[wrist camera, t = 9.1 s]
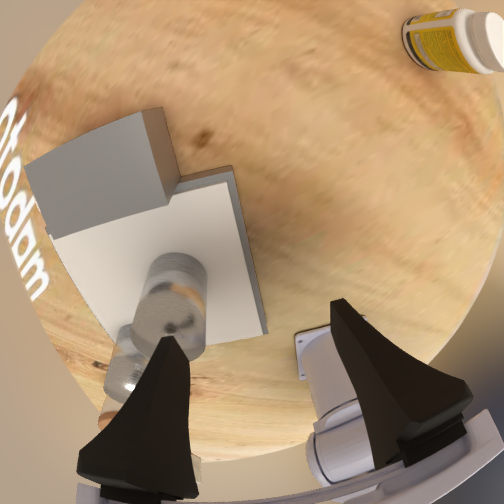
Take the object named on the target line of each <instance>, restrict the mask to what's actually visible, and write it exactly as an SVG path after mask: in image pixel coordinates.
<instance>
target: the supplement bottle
mask: <svg viewBox="0 0 504 504" xmlns="http://www.w3.org/2000/svg"><path fill="white" fill-rule="evenodd" d="M403 41H404V44H405V47H406V49H407V51H408V53H409V54H410V56H411V57H412V58H413V60H414V61H415V62H416V63H418V64H419V65H420V66H422V67H424V68H426V69H429V70H435V71H455V72H466V73H475V74H483V75H487V74H491V73H492V72H494V71H497V72H504V20H503V19H502V18H501V17H500V16H499V15H497V14H495V13H493V12H477V13H476V12H474V11H472V10H469V9H462V8H461V9H454V10H447V11H441V12H435V13H430V14H425V15H420V16H416V17H412V18H410V19H408V20H407V21H406V22H405V24H404V26H403Z"/></svg>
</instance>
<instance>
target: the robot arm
mask: <svg viewBox="0 0 504 504" xmlns="http://www.w3.org/2000/svg"><path fill="white" fill-rule="evenodd" d="M295 345H296V354H297V364H298V374H299V380H301V381H304V380H307V382H308V385H309V389H310V393H311V396H312V400H313V404H314V407H315V411H316V415H317V419H318V421H317V422H315V423H313V426H314V430H315V432H312V433H311V434H310V435H309V437H308V440H307V443H306V457H307V462H308V465H309V468H310V470H311V472H312V474H313V476H314V477H315V478H316V479H317V480H318V481H319V482H320V484H321V486H322V487H323V488H320V489H316V490H312V491H307V492H303V493H298V494H292V495H287V496H281V497H274V498H266V499H259V500H248V501H235V502H209V503H208V502H205V503H204V502H177V501H176V500H183V499H184V498H186V499H195V498H196V497H197V496H198V495H199V492H198V488H197V483H196V479H195V475H194V469H193V463H192V457H191V449H190V440H189V429H188V417H189V398H190V365H189V360H188V358H187V357H186V355H185V353H184V352H183V350H182V349H181V347H180V345H179V344H178V342H177V341H176V339H175V337H174V336H166V337H161V339H160V341H159V343H158V345H157V347H156V349H155V350H154V352H153V354H152V356H151V358H150V360H149V362H148V364H147V366H146V368H145V370H144V372H143V374H142V376H141V377H140V379H139V381H138V382H137V384H136V386H135V388H134V389H133V391H132V393H131V394H130V396H129V397H128V399H127V400H126V402H125V403H124V405H123V406H122V407H121V409H120V410H119V411H118V413H117V414H116V415H115V416H114V417H113V419H112V420H111V421H110V422H109V424H108V425H107V426H106V427H105V428H104V429H103V430H102V431H101V432H100V433H99V434H98V435H97V436H96V437H95V438H94V439H93V440H92V441H90V442H89V443H88V444H87V445H86V446H84V447H83V448H82V449H81V450H80V451H79V457H78V464H77V473H78V475H80V476H82V477H84V478H86V479H89V480H91V481H93V482H96V483H98V484H101V489H100V488H96V487H93V486H89V485H85V484H82V483H78V484H77V495H76V504H314V503H319V502H323V501H327V500H332V501H335V502H339V503H343V504H431V503H433V502H434V501H436V500H438V499H439V498H441V497H442V496H444V495H445V494H447V493H448V492H450V491H451V490H453V489H454V488H455V487H457V486H458V485H460V484H461V483H463V482H464V481H465V480H467V479H468V478H469V477H471V476H472V475H473V474H475V473H476V472H477V471H478V470H480V469H481V468H482V467H483V466H485V465H486V464H487V463H488V462H490V461H491V460H492V459H493V458H495V457H496V456H497V455H498V454H499V453H500V452H502V451H503V450H504V444H503V441H502V439H501V437H500V435H499V432H498V430H497V428H496V426H495V424H494V422H493V419H492V418H491V415H490V413H489V411H488V409H485V410H483V411H482V412H481V413H479V414H478V415H477V416H475V417H474V418H472V419H471V420H469V421H468V422H467V423H465V424H464V425H463V423H462V420H463V419H464V417H463V415H462V413H461V412H462V411H463V410H464V409H465V408H466V407H467V406H468V405H469V404H470V402H471V401H472V400H473V397H474V396H473V394H472V392H471V390H470V389H469V387H468V385H467V384H466V383H465V381H464V380H461V379H458V378H456V377H453V376H450V375H447V374H445V373H443V372H440V371H438V370H436V369H434V368H432V367H430V366H428V365H427V364H425V363H423V362H421V361H419V360H417V359H416V358H414V357H412V356H411V355H409V354H408V353H406V352H405V351H403V350H402V349H400V348H399V347H397V346H396V345H395V344H393V343H392V342H391V341H389V340H388V339H387V338H386V337H384V336H383V335H382V334H381V333H380V332H378V331H377V330H376V329H375V328H374V327H373V326H372V325H371V324H369V323H368V322H367V318H366V316H361V315H360V314H359V313H358V312H357V311H356V310H355V309H354V308H353V307H352V306H351V305H350V304H349V303H348V302H347V301H346V300H345V299H344V298H342V299H338V300H335V301H331V302H330V326H326V327H322V328H318V329H314V330H310V331H306V332H302V333H298V334H296V335H295Z"/></svg>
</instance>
